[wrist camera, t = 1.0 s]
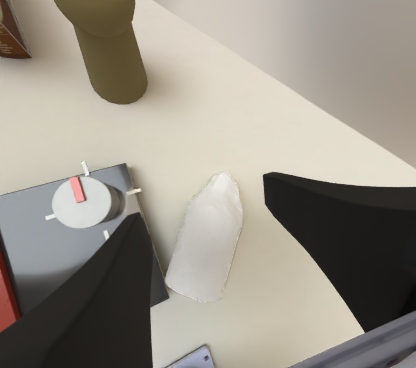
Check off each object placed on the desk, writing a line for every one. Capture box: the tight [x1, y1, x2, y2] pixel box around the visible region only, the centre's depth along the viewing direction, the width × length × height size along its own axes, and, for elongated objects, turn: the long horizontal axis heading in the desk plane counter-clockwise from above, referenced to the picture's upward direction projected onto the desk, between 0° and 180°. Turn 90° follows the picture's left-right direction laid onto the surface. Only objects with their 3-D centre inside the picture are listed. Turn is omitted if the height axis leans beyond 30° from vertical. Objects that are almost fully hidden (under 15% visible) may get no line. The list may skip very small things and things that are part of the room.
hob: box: [0, 161, 169, 317], centre depth 17 cm, size 15×21×2 cm
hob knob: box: [52, 176, 120, 229], centre depth 16 cm, size 4×4×4 cm
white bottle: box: [165, 172, 244, 302], centre depth 19 cm, size 6×12×6 cm, turn 162°
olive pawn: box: [54, 0, 147, 104], centre depth 16 cm, size 6×6×11 cm
